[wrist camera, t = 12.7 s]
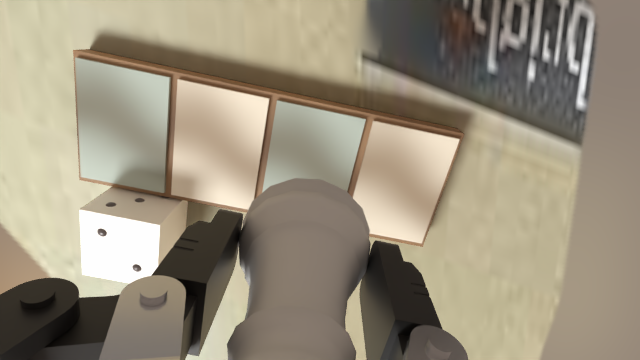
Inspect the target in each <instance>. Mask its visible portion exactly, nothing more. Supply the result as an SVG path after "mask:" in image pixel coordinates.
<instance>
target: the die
mask: <svg viewBox="0 0 640 360" xmlns="http://www.w3.org/2000/svg"><path fill="white" fill-rule="evenodd" d="M187 208H188V201H186V200H180V199H175V198H170V197H165V196H160V195H155V194H150V193H145V192H139V191H134V190H129V189H124V188H119V187H114V186H113V187H111V188H110V189H108V190H107V191H105V192H104V193H102V194H101V195H99V196H98V197H97V198H95V199H94V200H92V201H91V202H89V203H88V204H86V205H85V206H84V207H82V208H81V209H79V214H80V235H81V257H82V275H88V276H93V277H98V278H104V279H109V280H115V281H120V282H125V283H131V282H133V281H135V280H137V279H140V278H143V277H147V276H151V275H152V274H153V272H154V271H155V270H156V268H157V267H158V266H159V264H160V263H161V262H162V260H163V259H164V258H165V256H166V255H167V254H168V252H169V251H170V250H171V248H173V246H174V244H175V243H176V241H177V240H178V239H179V238H180V236H181V235H182V233H183V232H184V231H185V229H186V220H187Z"/></svg>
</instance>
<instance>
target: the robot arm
mask: <svg viewBox="0 0 640 360" xmlns="http://www.w3.org/2000/svg"><path fill="white" fill-rule="evenodd" d="M242 220H243V214H242V213H237V212H232V211H227V210H222V209H220V210H219V211H218V212H217V214H216V215H215V217H214V218H213V220H212V222H211V223H208V222H203V221H198V222H196V223H195V224H193V225H191V226H189V227H187V228H186V229H185V231H184V232H183V233H182V235H181V236H180V238H179V239H178V240H177V241H176V243H175V244H174V246H173V248H171V250H170V251H169V252H168V254H167V255H166V256H165V258H164V259H163V260H162V262H161V263H160V264H159V266H158V267H157V268H156V270H155V271H154V272H153V274H152V275H151V276H147V277H143V278H140V279H137V280H135V281H133V282H131V283H130V284H128V285H127V286H126V287H125V288H124V289H123V290H122V292H121V294H120V295H115V296H105V297H86V298H79V291H78V288H77V286H76V285H75V284H74V283H72V282H70V281H68V280H65V279H60V278H44V279H37V280H32V281H29V282H26V283H23V284H20V285H18V286H16V287H14V288H12V289H10V290H8V291H6V292H5V293H2V294H1V295H0V360H185V358H186V356H187V354H190V355H195V356H199V354H200V352H201V349H202V347H203V344H204V342H205V339H206V337H207V334H208V332H209V330H210V327H211V325H212V322H213V320H214V317H215V315H216V312H217V310H218V307H219V305H220V303H221V300H222V298H223V295H224V293H225V290H226V288H227V285H228V283H229V281H230V278H231V276H232V273H233V270H234V267H235V263H236V259H237V254H238V247H239V235H240V232H241V227H242ZM425 286H426V285H425V282H424V280H423V277H422V274H421V273H420V272H419V271H418V270H417V269H416V267H415V266H414V265H413V264H412V263H410V262H405V261H403V258H402V255H401V252H400V249H399V246H398V245H396V244H391V243H386V242H381V241H375V242H374V243H373V245H372V248H371V251H370V255H369V260H368V266H367V270H366V273H365V274H364V276H363V277H362V281H361V286H360V304H361V313H362V322H363V331H364V340H365V349H366V357H367V360H468V356H467V353H466V351H465V349H464V347H463V346H462V345H461V343H460V342H459V341H458V340H457V339H456V338H455V337H453V336H452V335H451V334H449V333H448V332H446V331H444V330H443V329H442V327H441V324H440V321H439V319H438V316H437V314H436V311H435V308H434V306H433V303H432V301H431V298H430V297H429V293H428V290H427V288H425Z"/></svg>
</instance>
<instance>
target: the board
mask: <svg viewBox="0 0 640 360" xmlns="http://www.w3.org/2000/svg"><path fill="white" fill-rule="evenodd" d="M73 54H74V75H75V95H76V116H77V136H78V157H79V178H80V180H83V181H88V182H93V183H98V184H103V185H109V186H114V187H119V188H124V189H129V190H134V191H139V192H145V193H150V194H155V195H160V196H165V197H170V198H175V199H180V200H186V201H191V202H196V203H201V204H206V205H211V206H216V207H221V208H227V209H232V210H237V211H242V212H248V209H249V207H250V205H251V203H252V201H253V200H255V199H256V198H257V197H258V196H259V195H260V194H262V193H263V192H264V191H265V190H266V189H267V188H269V187H270V186H272V185H275V184H278V183H281V182H284V181H287V180H290V179H294V178H303V179H320V180H324V181H326V182H328V183H330V184H333V185H335V186H337V187H339V188H341V189H343V190H346V191H347V192H348V193H349V195H350V196H351V197H352V198H353V199H354V200H355V201H356V202H357V203H358V204H359V205H360V206H361V207H362V208H363V211H364V214H365V217H366V220H367V223H368V226H369V229H370V233H369V236H370V237H375V238H380V239H386V240H391V241H396V242H401V243H406V244H411V245H416V246H421V247H423V244H424V241H425V239H426V236H427V233H428V231H429V228H430V225H431V223H432V220H433V217H434V214H435V212H436V209H437V206H438V204H439V201H440V198H441V195H442V193H443V190H444V187H445V185H446V182H447V179H448V176H449V174H450V171H451V168H452V166H453V163H454V160H455V157H456V155H457V152H458V149H459V147H460V144H461V141H462V138H463V136H464V133H462V132H461V131H460V130H458V129H457V128H453V127H448V126H443V125H439V124H434V123H430V122H425V121H420V120H416V119H411V118H406V117H402V116H397V115H392V114H388V113H383V112H378V111H374V110H369V109H364V108H360V107H355V106H350V105H346V104H341V103H336V102H332V101H327V100H322V99H318V98H313V97H308V96H304V95H299V94H294V93H290V92H285V91H280V90H276V89H271V88H266V87H262V86H257V85H252V84H248V83H243V82H238V81H234V80H229V79H224V78H220V77H215V76H211V75H206V74H201V73H197V72H192V71H187V70H183V69H178V68H173V67H169V66H164V65H159V64H155V63H150V62H145V61H141V60H136V59H131V58H127V57H122V56H117V55H113V54H108V53H103V52H99V51H94V50H89V49H86V50H73Z"/></svg>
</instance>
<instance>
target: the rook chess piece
mask: <svg viewBox="0 0 640 360" xmlns="http://www.w3.org/2000/svg"><path fill="white" fill-rule="evenodd" d="M369 233H370V229H369V226H368V223H367V220H366V217H365V214H364V211H363V208H362V207H361V206H360V205H359V204H358V203H357V202H356V201H355V200H354V199H353V198H352V197H351V196H350V195H349V193H348V192H347V191H346V190H343V189H341V188H339V187H337V186H335V185H333V184H330V183H328V182H326V181H324V180H320V179H303V178H294V179H290V180H287V181H284V182H281V183H278V184H275V185H272V186H270V187H269V188H267V189H266V190H265V191H264V192H263V193H262V194H260V195H259V196H258V197H257V198H256V199H255V200H253V201H252V203H251V205H250V207H249V209H248V212H247V214H246V216H245V218H244V220H243V228H242V230H241V232H240V235H239V258H240V266H241V268H242V270H243V272H244V274H245V279H246V281H247V283H248V285H249V287H250V289H249V298H248V307H247V313H246V317H245V320H244V321H243V322H242V323H240V324H239V325H237V326H236V328H235V330H234V332H233V334H232V336H231V338H230V340H229V342H228V344H227V348H228V360H355V358H356V350H355V348H354V345H353V343H352V341H351V338H350V336H349V333H348V332H346V330H345V316H346V308H347V300H348V299H349V297H350V296H351V294H352V293H353V291H354V290H355V288H356V287H357V285H358V284H359V282H360V281H361V279H362V277H363V276H364V274H365V273H366V270H367V266H368V260H369V252H370V241H369Z"/></svg>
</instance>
